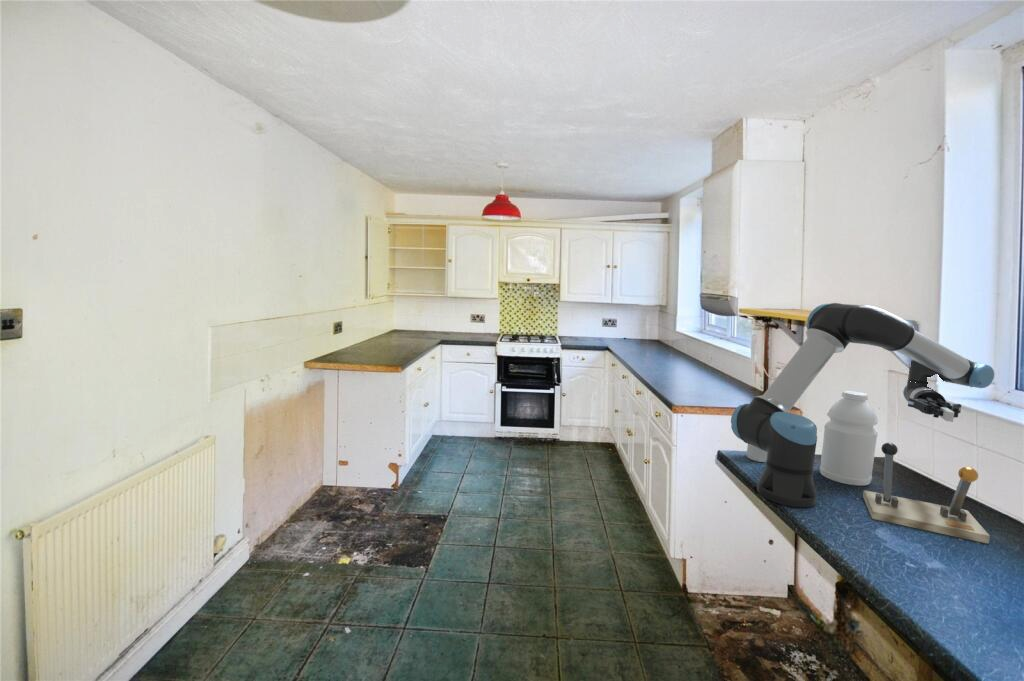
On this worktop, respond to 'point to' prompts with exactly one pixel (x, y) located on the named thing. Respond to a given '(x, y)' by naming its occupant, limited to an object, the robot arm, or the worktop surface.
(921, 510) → the switch board
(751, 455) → the milk bottle
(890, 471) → the black knob lever
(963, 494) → the orange knob lever
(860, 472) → the bottle
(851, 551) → the worktop surface
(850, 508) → the worktop surface
